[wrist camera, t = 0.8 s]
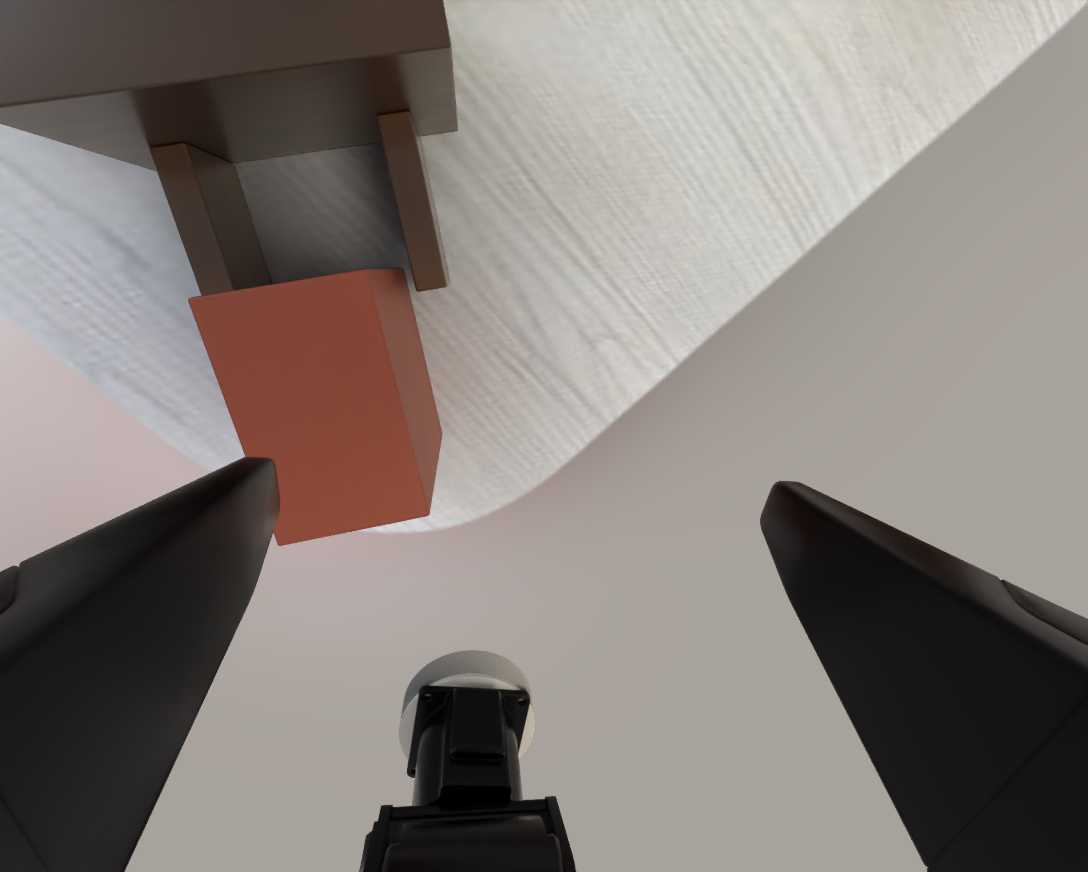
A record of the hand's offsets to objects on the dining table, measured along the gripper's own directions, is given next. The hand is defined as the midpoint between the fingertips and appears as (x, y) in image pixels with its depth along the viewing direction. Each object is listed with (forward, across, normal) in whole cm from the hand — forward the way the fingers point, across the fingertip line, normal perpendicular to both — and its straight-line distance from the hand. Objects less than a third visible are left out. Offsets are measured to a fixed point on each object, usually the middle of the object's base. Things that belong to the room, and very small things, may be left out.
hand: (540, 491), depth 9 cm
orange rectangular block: (+16, +6, +4) cm, 18 cm away
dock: (+18, +8, -3) cm, 20 cm away
